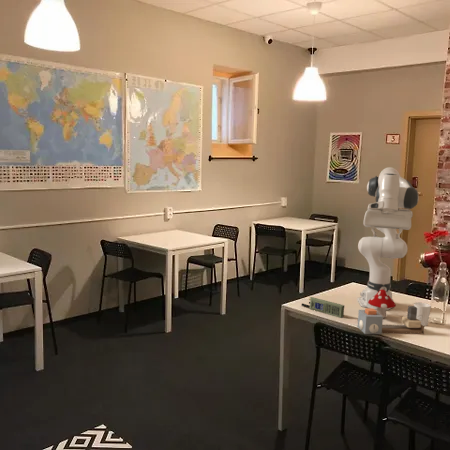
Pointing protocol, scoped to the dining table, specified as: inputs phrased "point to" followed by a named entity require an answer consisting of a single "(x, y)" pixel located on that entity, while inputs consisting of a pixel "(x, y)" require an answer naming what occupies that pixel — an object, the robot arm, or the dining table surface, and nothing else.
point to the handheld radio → (326, 307)
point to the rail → (402, 329)
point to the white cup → (423, 312)
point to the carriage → (411, 318)
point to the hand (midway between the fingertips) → (386, 237)
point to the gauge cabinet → (370, 323)
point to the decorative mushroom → (382, 302)
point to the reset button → (370, 311)
